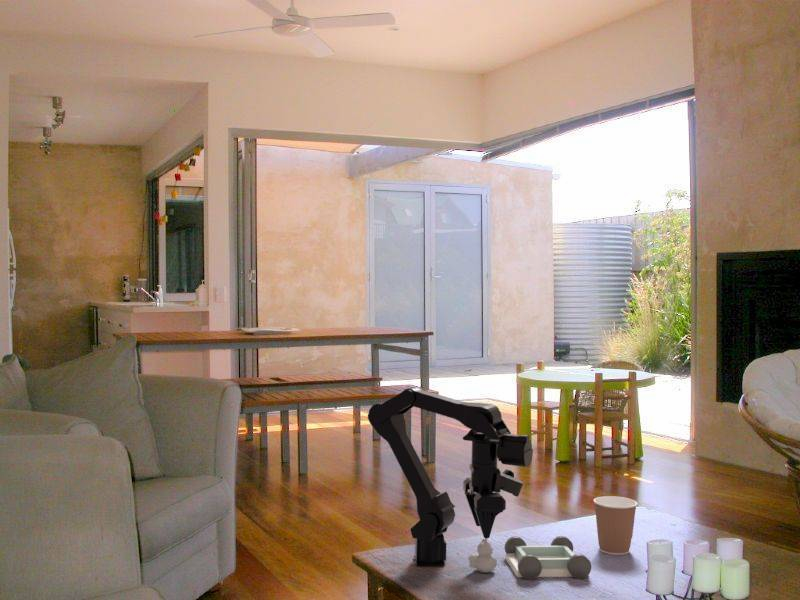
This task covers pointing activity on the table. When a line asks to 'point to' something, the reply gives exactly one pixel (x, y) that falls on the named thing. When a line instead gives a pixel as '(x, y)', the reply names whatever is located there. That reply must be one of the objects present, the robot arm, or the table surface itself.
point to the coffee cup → (615, 523)
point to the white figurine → (483, 558)
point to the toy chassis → (546, 559)
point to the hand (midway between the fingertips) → (482, 531)
